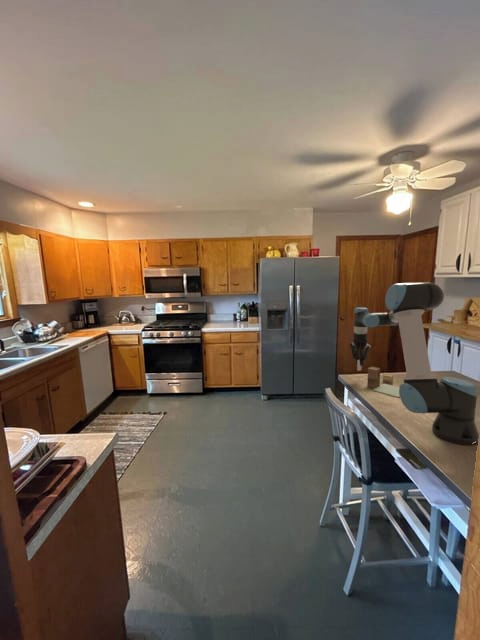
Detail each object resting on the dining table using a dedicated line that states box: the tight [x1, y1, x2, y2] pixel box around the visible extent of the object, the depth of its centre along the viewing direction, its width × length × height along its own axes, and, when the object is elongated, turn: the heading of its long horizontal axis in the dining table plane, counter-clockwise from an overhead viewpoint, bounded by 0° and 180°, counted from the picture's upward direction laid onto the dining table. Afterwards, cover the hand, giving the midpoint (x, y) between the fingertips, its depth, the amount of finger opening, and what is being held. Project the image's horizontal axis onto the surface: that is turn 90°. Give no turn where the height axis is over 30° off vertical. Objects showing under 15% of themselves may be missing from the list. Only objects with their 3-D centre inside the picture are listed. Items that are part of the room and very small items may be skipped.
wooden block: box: [366, 366, 381, 389], centre depth 168 cm, size 5×5×11 cm
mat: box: [372, 383, 400, 399], centre depth 161 cm, size 14×14×1 cm
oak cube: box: [382, 372, 394, 385], centre depth 173 cm, size 5×5×5 cm
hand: (359, 370), depth 175 cm, fingers closed
